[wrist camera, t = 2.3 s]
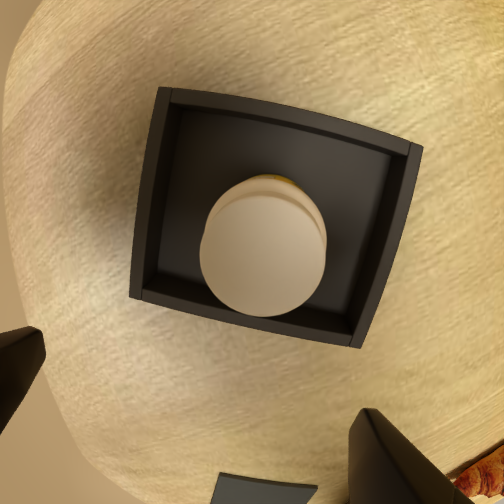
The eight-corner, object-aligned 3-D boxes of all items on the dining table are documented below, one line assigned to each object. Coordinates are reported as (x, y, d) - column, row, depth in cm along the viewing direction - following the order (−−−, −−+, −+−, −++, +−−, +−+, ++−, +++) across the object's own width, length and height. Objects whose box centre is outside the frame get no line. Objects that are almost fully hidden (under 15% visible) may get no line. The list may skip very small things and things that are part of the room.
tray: (402, 147, 17) (424, 146, 14) (351, 324, 20) (360, 349, 17) (176, 96, 17) (158, 86, 14) (147, 278, 20) (128, 297, 17)
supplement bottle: (321, 242, 18) (352, 308, 10) (243, 266, 19) (218, 343, 11) (296, 161, 17) (312, 163, 9) (215, 188, 18) (164, 213, 10)
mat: (317, 485, 26) (317, 489, 25) (289, 521, 29) (289, 524, 28) (219, 472, 26) (219, 475, 25) (208, 510, 29) (208, 513, 28)
